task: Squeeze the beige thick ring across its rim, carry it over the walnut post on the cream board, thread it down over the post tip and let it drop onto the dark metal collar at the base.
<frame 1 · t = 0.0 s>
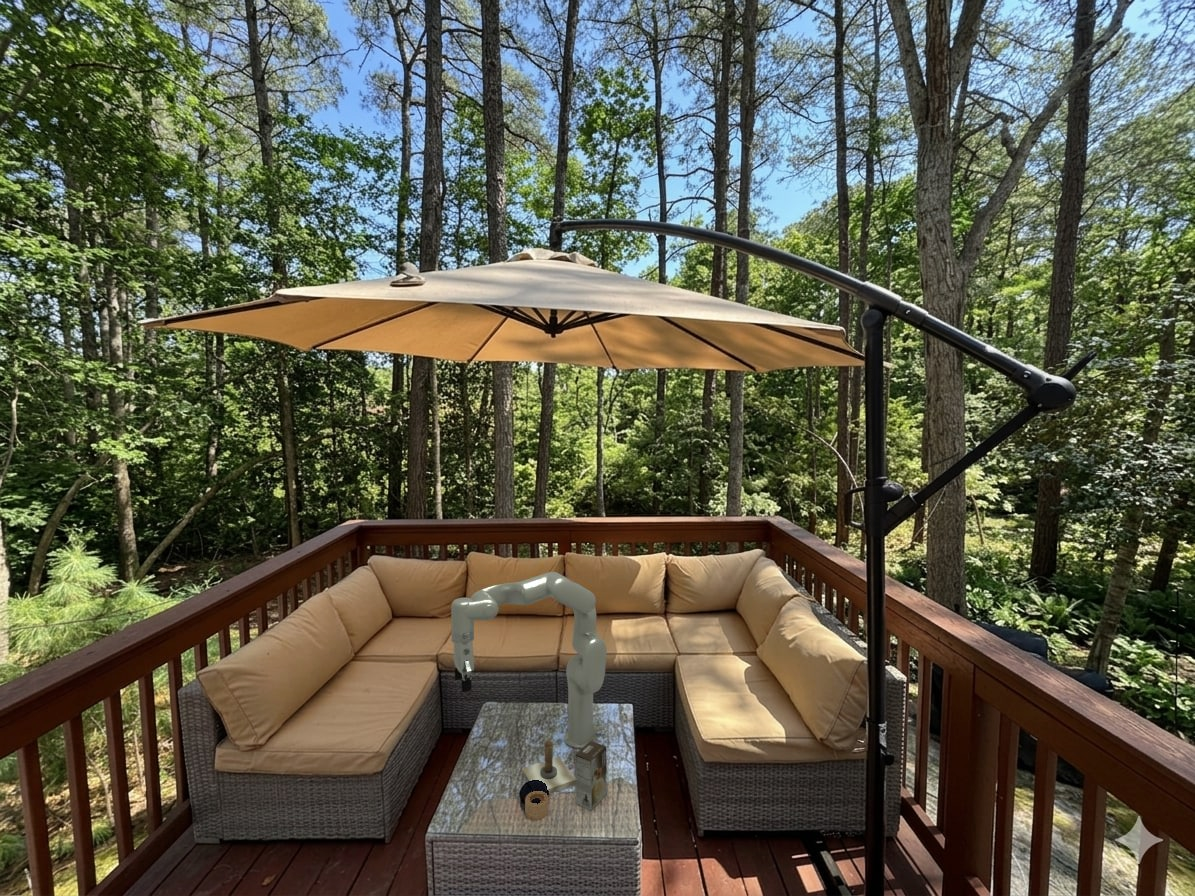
hand: (462, 685, 177), 31 cm above the table, fingers open, 9 cm apart
post board: (548, 779, 176), on the table
beige thick ring: (536, 811, 161), on the table
coffee box: (591, 799, 167), on the table
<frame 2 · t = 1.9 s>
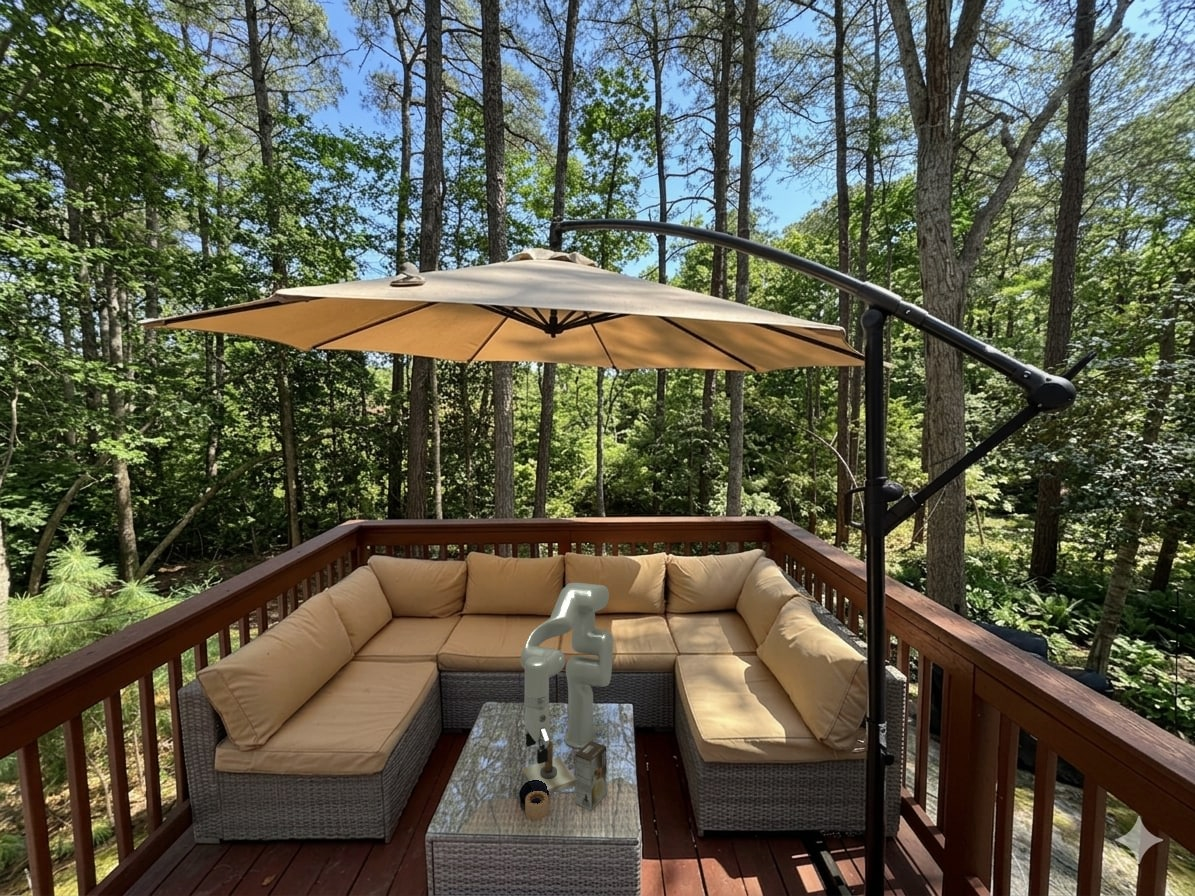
hand: (536, 753, 161), 18 cm above the table, fingers open, 9 cm apart
nothing on the table moved.
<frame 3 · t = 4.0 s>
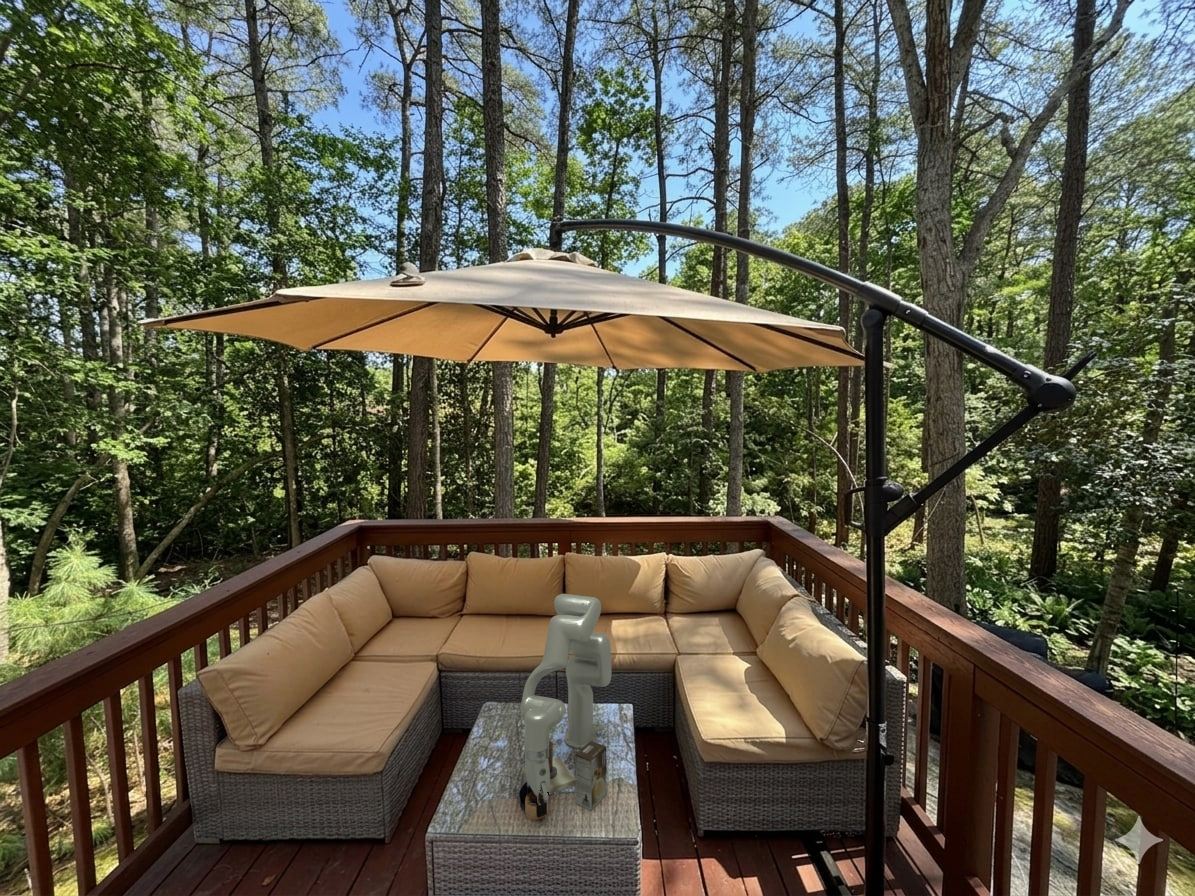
hand: (536, 807, 161), 1 cm above the table, fingers closed on beige thick ring, 7 cm apart
beige thick ring: (536, 811, 161), on the table, touching gripper
everything else where it was.
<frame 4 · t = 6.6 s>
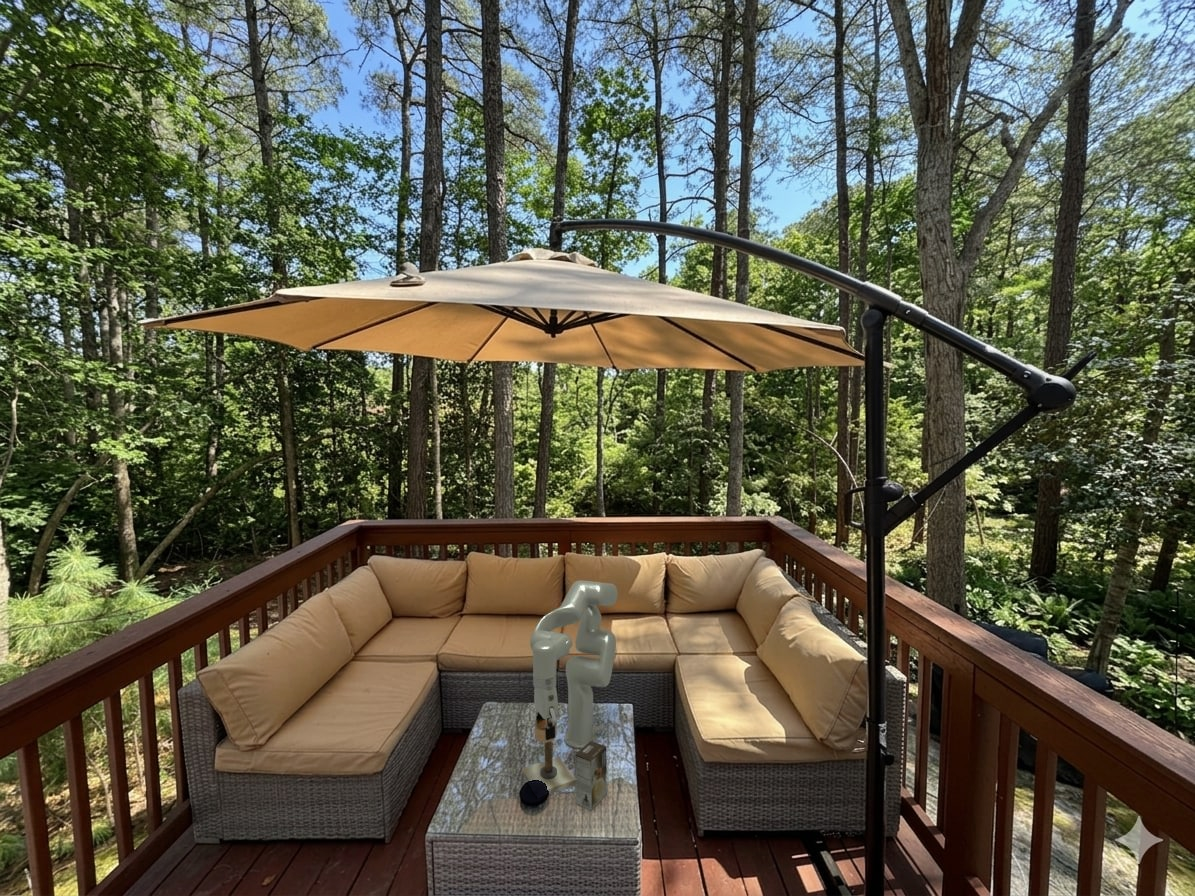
hand: (545, 731, 171), 19 cm above the table, fingers closed on beige thick ring, 7 cm apart
beige thick ring: (545, 735, 171), point 18 cm above the table, touching gripper
everything else where it was.
when the fingers open (12 cm above the table, at t = 9.3 s): beige thick ring drops 8 cm, resting on post board.
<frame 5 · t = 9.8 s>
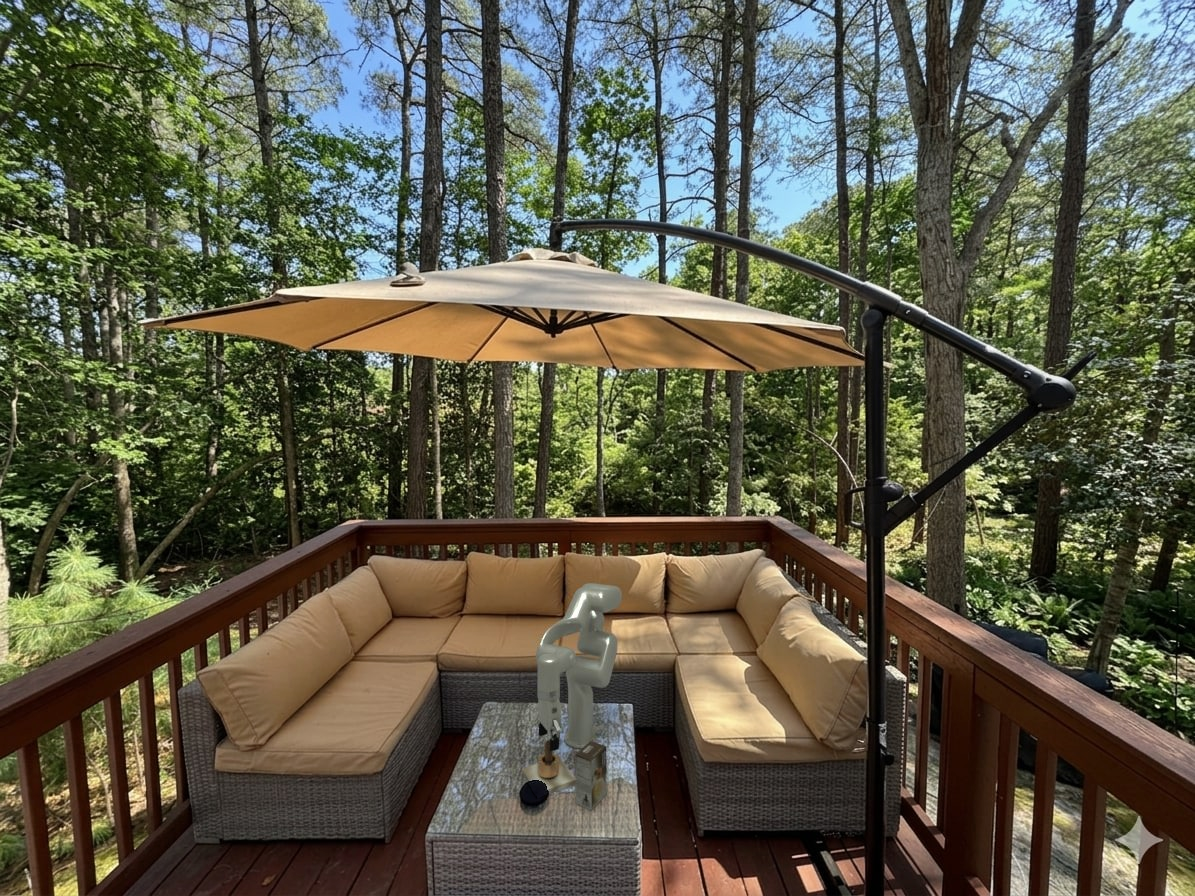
hand: (548, 742, 176), 13 cm above the table, fingers open, 9 cm apart
beige thick ring: (548, 770, 176), point 3 cm above the table, touching post board
everything else where it was.
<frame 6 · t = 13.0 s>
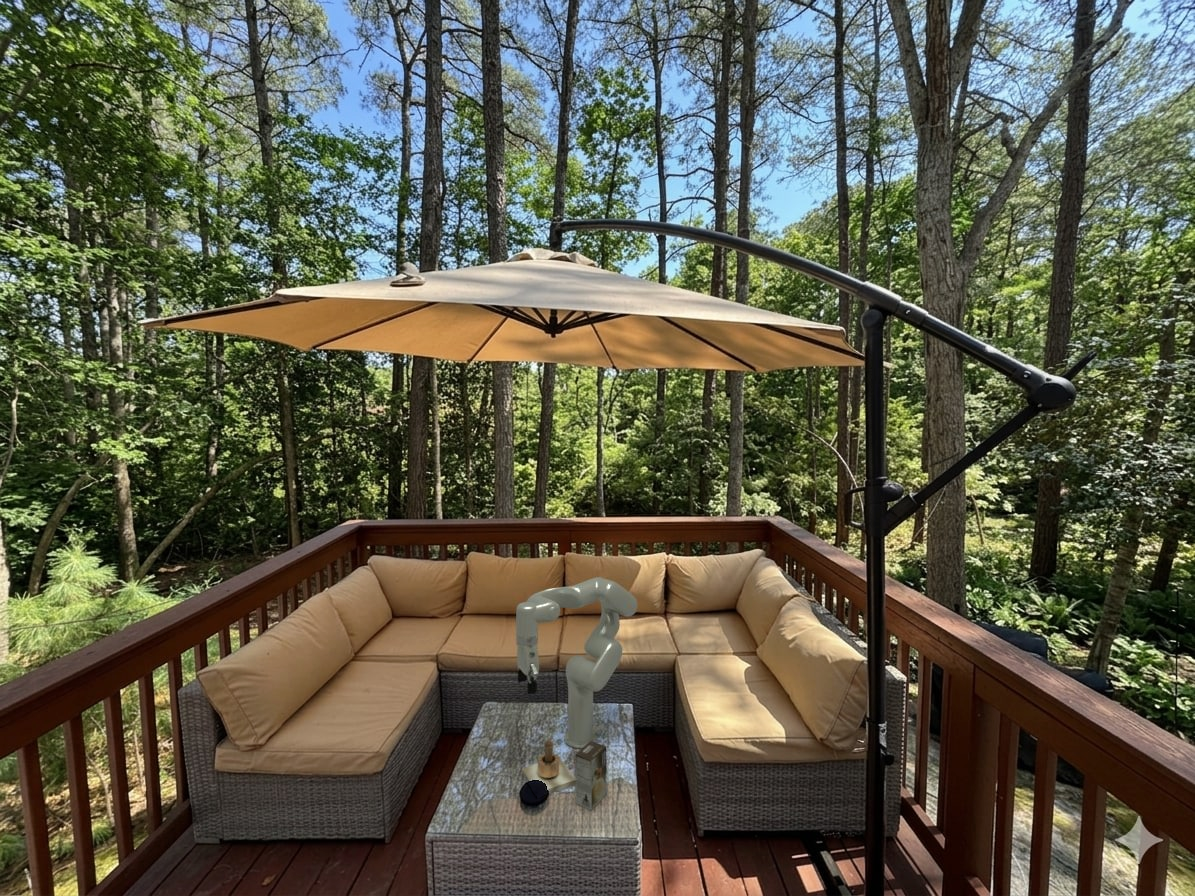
hand: (527, 687, 182), 28 cm above the table, fingers open, 9 cm apart
nothing on the table moved.
at the end: beige thick ring 0.0 cm off-centre on the post board, point 3.0 cm above the post board's base; the gripper is holding nothing; beige thick ring tilted 0° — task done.
